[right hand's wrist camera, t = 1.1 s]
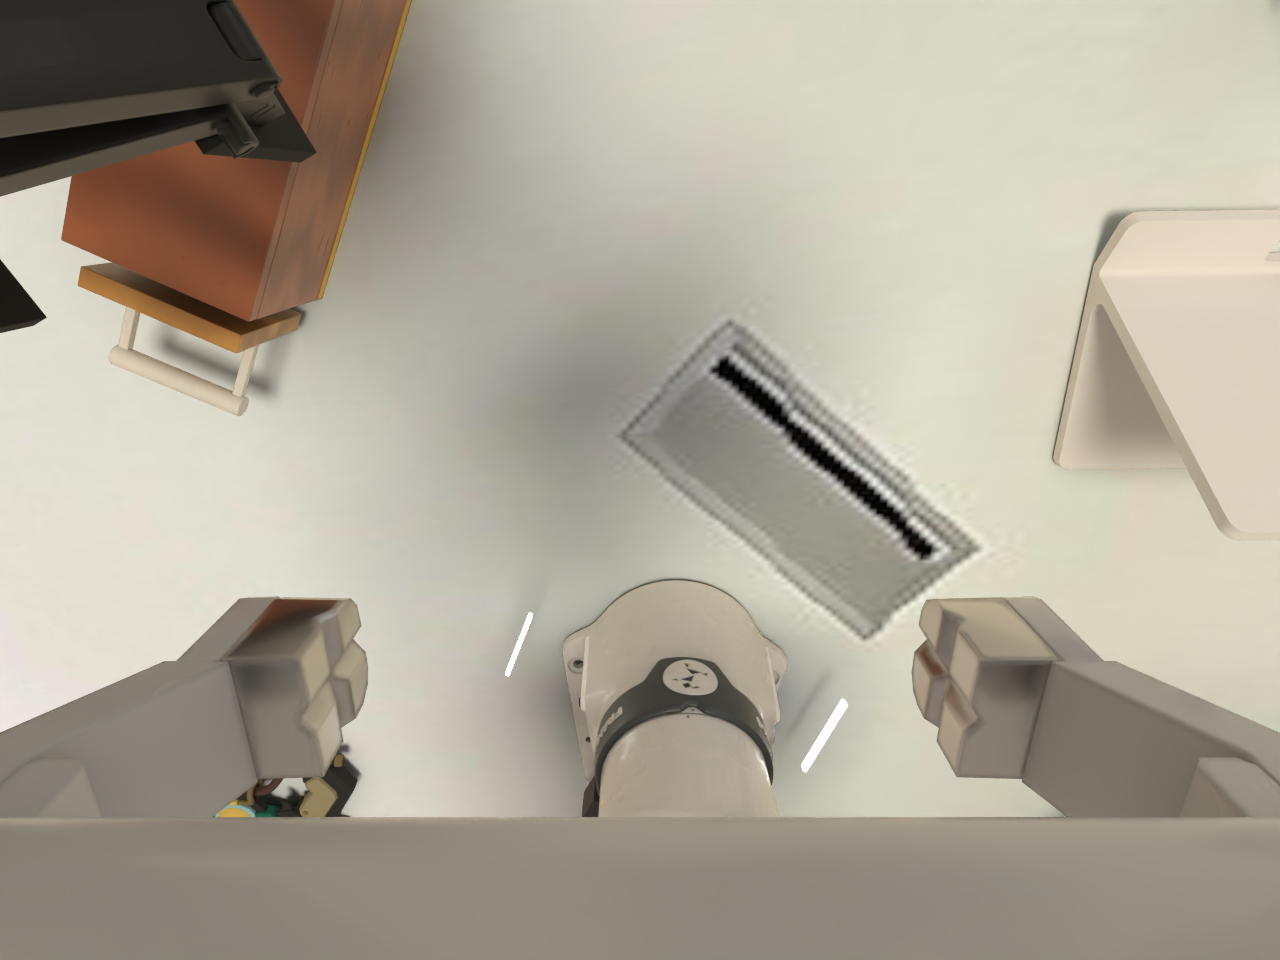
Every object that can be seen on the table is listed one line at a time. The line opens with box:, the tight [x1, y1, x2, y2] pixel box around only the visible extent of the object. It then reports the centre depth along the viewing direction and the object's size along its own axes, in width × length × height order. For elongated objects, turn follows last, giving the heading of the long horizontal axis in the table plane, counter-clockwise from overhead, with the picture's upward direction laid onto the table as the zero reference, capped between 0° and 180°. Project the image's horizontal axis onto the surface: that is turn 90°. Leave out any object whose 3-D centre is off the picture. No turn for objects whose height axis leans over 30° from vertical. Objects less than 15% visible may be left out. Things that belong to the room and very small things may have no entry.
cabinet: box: [61, 0, 412, 321], centre depth 41 cm, size 20×10×10 cm, turn 155°
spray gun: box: [213, 754, 357, 817], centre depth 64 cm, size 4×17×15 cm
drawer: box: [78, 262, 302, 416], centre depth 43 cm, size 25×9×8 cm, turn 155°
